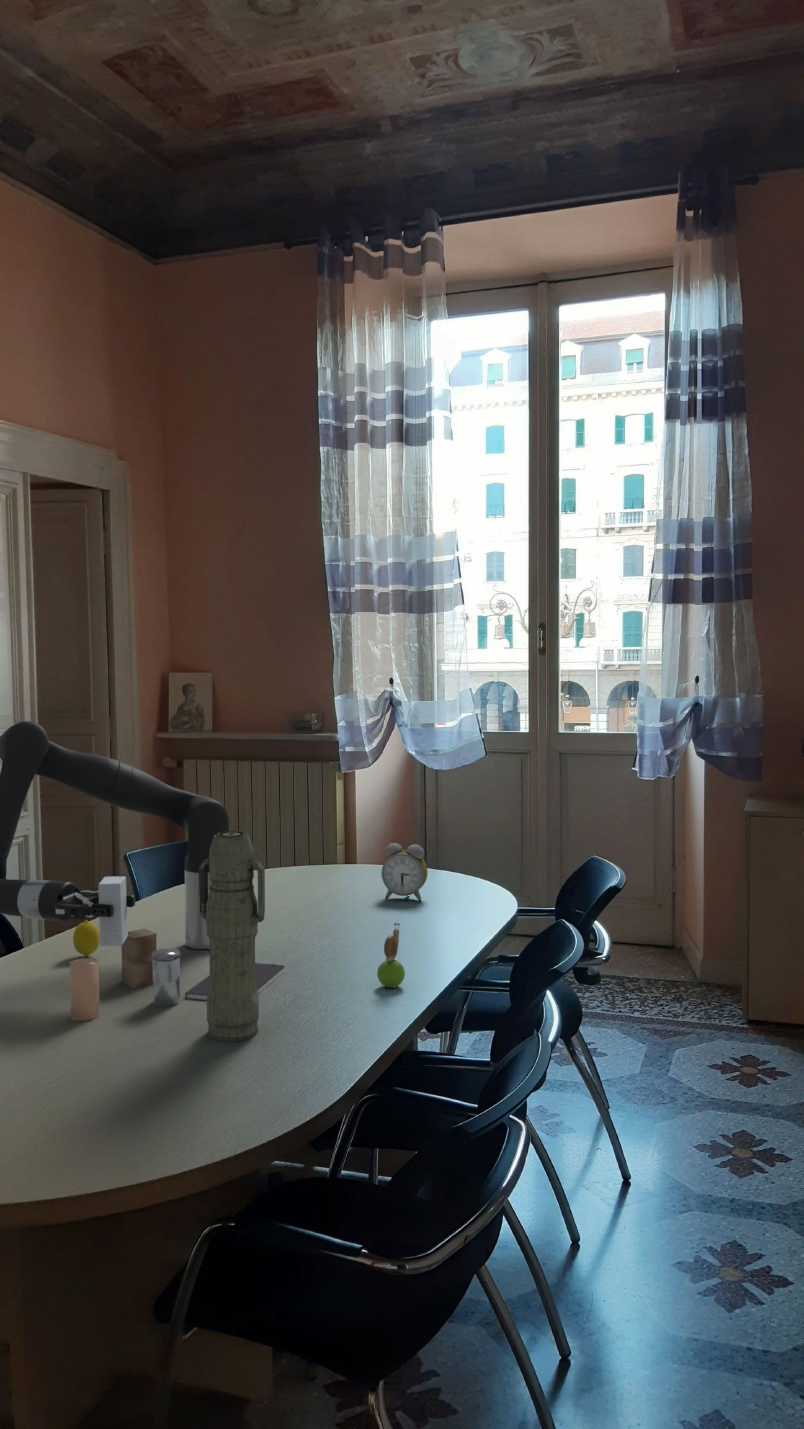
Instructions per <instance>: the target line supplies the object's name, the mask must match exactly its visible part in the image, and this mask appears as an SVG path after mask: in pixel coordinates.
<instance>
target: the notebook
mask: <svg viewBox="0 0 804 1429" xmlns="http://www.w3.org/2000/svg"><path fill="white" fill-rule="evenodd" d="M284 969H285V965H282V964H273V963H271V964H270V963H262V962H261V963H259V962H255V985H256V988H257V991H258V994H260V993H261V992H262V991H263V990H264V989H265V988H267V987H268V986H269V985H270V984H271V983H273V982H274V981H275V980H276V979H277V978H278V977H279V976H280V975H282V974H283V973H284V971H285V970H284ZM209 990H210V974H209V975H207V977H205V978H204V979H203V980H201V981H200V982H198V983H197V984H196V985H194V986H193V987H192V988H190V989H189V990H188V991H186V992H185V993H184V998H185V999H192V1000H193V999H194V1000H195V999H196V1000H204V1001H207V996H208V993H209Z"/></svg>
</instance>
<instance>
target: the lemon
mask: <svg viewBox="0 0 804 1429" xmlns="http://www.w3.org/2000/svg"><path fill="white" fill-rule="evenodd" d="M72 938H73V939H72V942H73V947H74V949H75V950H76V951H77V952H78V953H79V954H81V955H83V956H84V958H89V957H90V955H91V954H93V953H94V952H96V951H97V949H98V948H99V945H100V929H99V928H98V927H97V925H96V924H94V923H93V922H91V921H89V920H86V919H85V920H84V921H82V922H81V923H79V924H78V925H77V926H76V928H75V929H74V932H73V937H72Z"/></svg>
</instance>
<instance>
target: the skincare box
mask: <svg viewBox="0 0 804 1429" xmlns="http://www.w3.org/2000/svg"><path fill="white" fill-rule="evenodd" d="M97 888H98V890H99V904H108V905H112V906H113V916H111V917H100V916H98V917H99V918H98V919H99V921H98V922H99V934H100V942H99V945H100V947H119V946H120V947H122V945H123V943H124V941H125V940H126V938H127V936H128V932H129V931H128V929H129V928H128V907H127V896H126V895H127V877H126V876H123V875H122V876H104V877H103V878H102V880H101V881H100V882H99V883H98V885H97Z"/></svg>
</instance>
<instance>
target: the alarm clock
mask: <svg viewBox="0 0 804 1429" xmlns="http://www.w3.org/2000/svg"><path fill="white" fill-rule="evenodd" d="M405 847H406V848H405V849H403V846H401V844H399V843H397V842H392V843H391V842H390V843H388V845H387V846H386V847H385V849H384V854H385V857H387V858H386V859H385V861H384V862H383V864H382V868H381V879H382V882H383V885H384V886H385V887H386V889H387V891H386V894H385V897H384V899H385V900H388V899H389V898H390V897H391V896H392V894H394V895H396V896H401V897H408V895H410V896H412V895H414V896H415V898H416V899H417V900H418V899H419V900H420V899H422V897H421V893H420V891H419V890H420V889H421V888H422V887H424V885H425V883H426V881H427V878H428V867H427V864H426V862H425V859H424V858H425V850H424V848H423V847H422V846H421V844H411V845H409V846H408V845H406V846H405ZM419 900H418V901H419Z"/></svg>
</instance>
